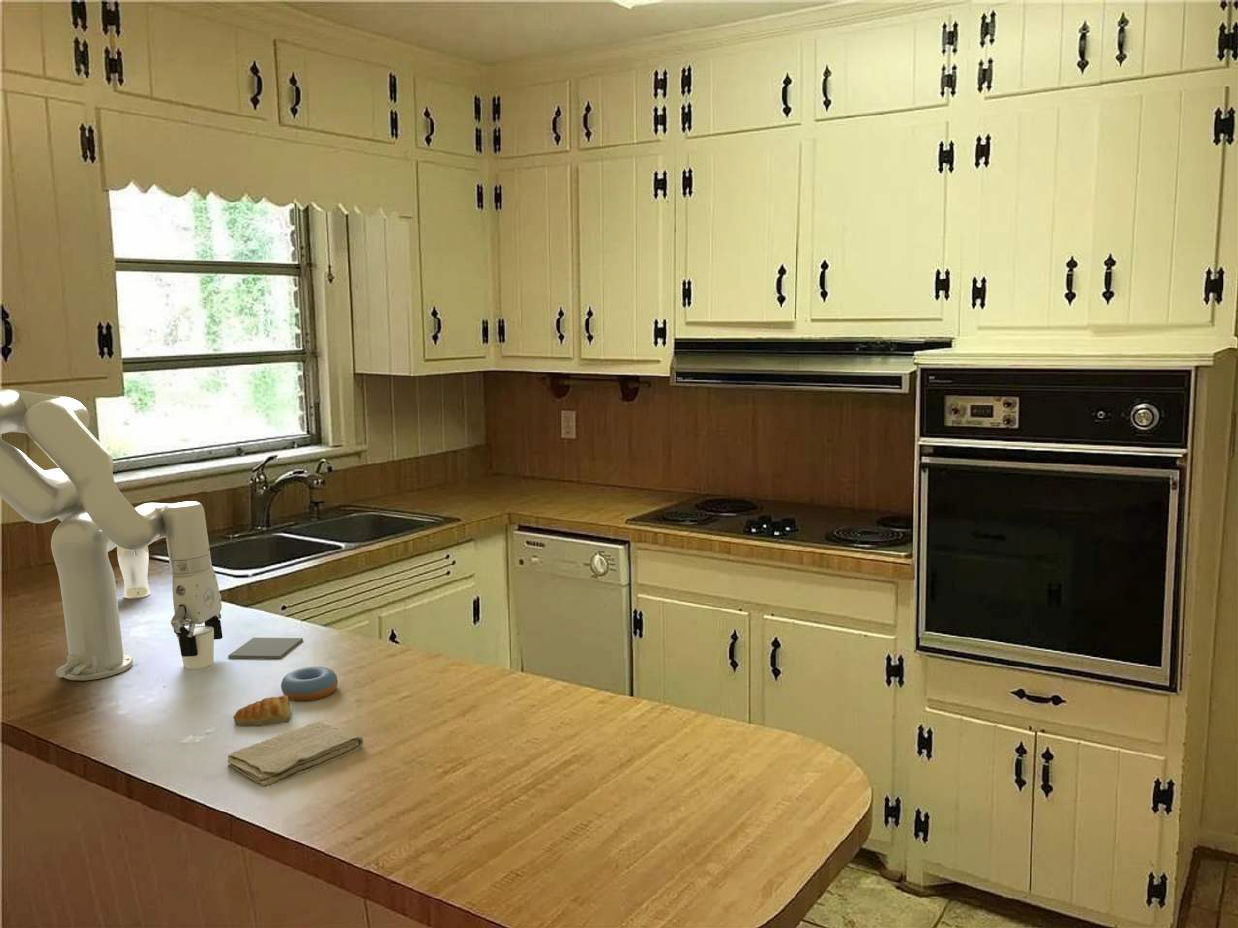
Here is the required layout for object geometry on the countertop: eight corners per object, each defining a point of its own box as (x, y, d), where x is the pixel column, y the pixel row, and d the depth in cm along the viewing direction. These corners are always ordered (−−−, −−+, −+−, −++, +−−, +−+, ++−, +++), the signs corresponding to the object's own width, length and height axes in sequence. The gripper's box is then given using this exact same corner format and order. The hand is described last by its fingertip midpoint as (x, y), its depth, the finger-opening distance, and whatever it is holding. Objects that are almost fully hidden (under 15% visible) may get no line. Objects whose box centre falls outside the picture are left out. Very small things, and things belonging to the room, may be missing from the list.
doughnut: (269, 694, 185) (270, 670, 184) (315, 680, 193) (316, 657, 192) (302, 711, 179) (303, 687, 179) (348, 696, 187) (349, 672, 186)
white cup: (204, 670, 199) (200, 636, 198) (172, 669, 200) (169, 635, 199) (224, 658, 205) (221, 625, 204) (193, 657, 207) (190, 624, 206)
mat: (280, 658, 204) (280, 655, 204) (228, 658, 206) (228, 655, 206) (302, 640, 215) (302, 637, 215) (253, 640, 216) (253, 637, 216)
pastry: (234, 732, 170) (232, 711, 169) (234, 718, 176) (232, 697, 175) (293, 722, 173) (291, 701, 172) (290, 708, 179) (288, 688, 179)
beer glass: (158, 593, 255) (152, 535, 252) (132, 601, 249) (126, 541, 246) (142, 590, 258) (136, 533, 256) (116, 597, 253) (109, 538, 250)
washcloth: (222, 771, 156) (220, 752, 156) (321, 731, 170) (320, 713, 169) (265, 792, 149) (263, 773, 148) (365, 749, 162) (364, 731, 162)
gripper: (185, 576, 191) (197, 662, 193) (230, 552, 208) (240, 632, 210) (148, 577, 191) (161, 663, 194) (195, 554, 208) (206, 633, 211)
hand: (202, 647), depth 202 cm, fingers open, 9 cm apart
